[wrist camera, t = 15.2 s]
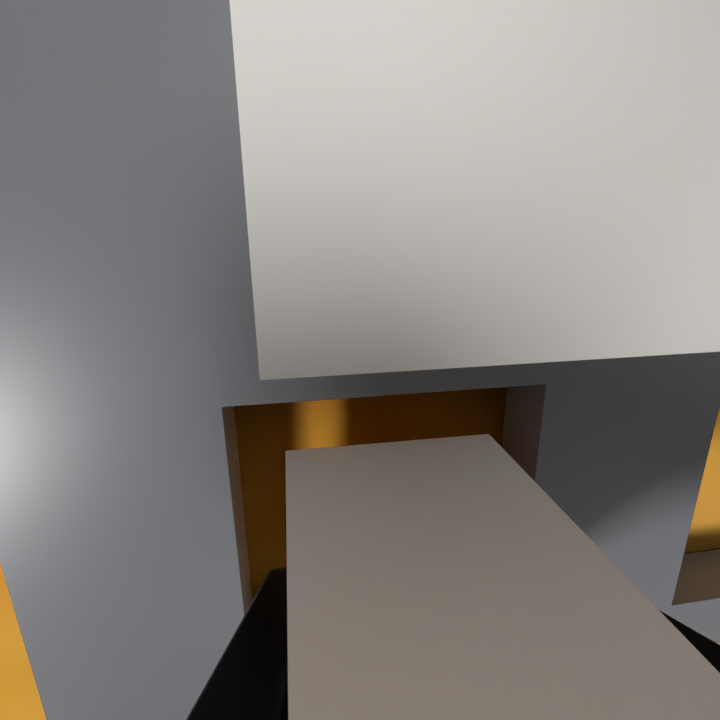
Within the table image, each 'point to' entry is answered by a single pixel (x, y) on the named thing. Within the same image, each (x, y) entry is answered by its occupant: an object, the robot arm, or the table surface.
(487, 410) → the table surface
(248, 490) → the table surface
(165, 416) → the pin board
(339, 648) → the white rectangular prism
